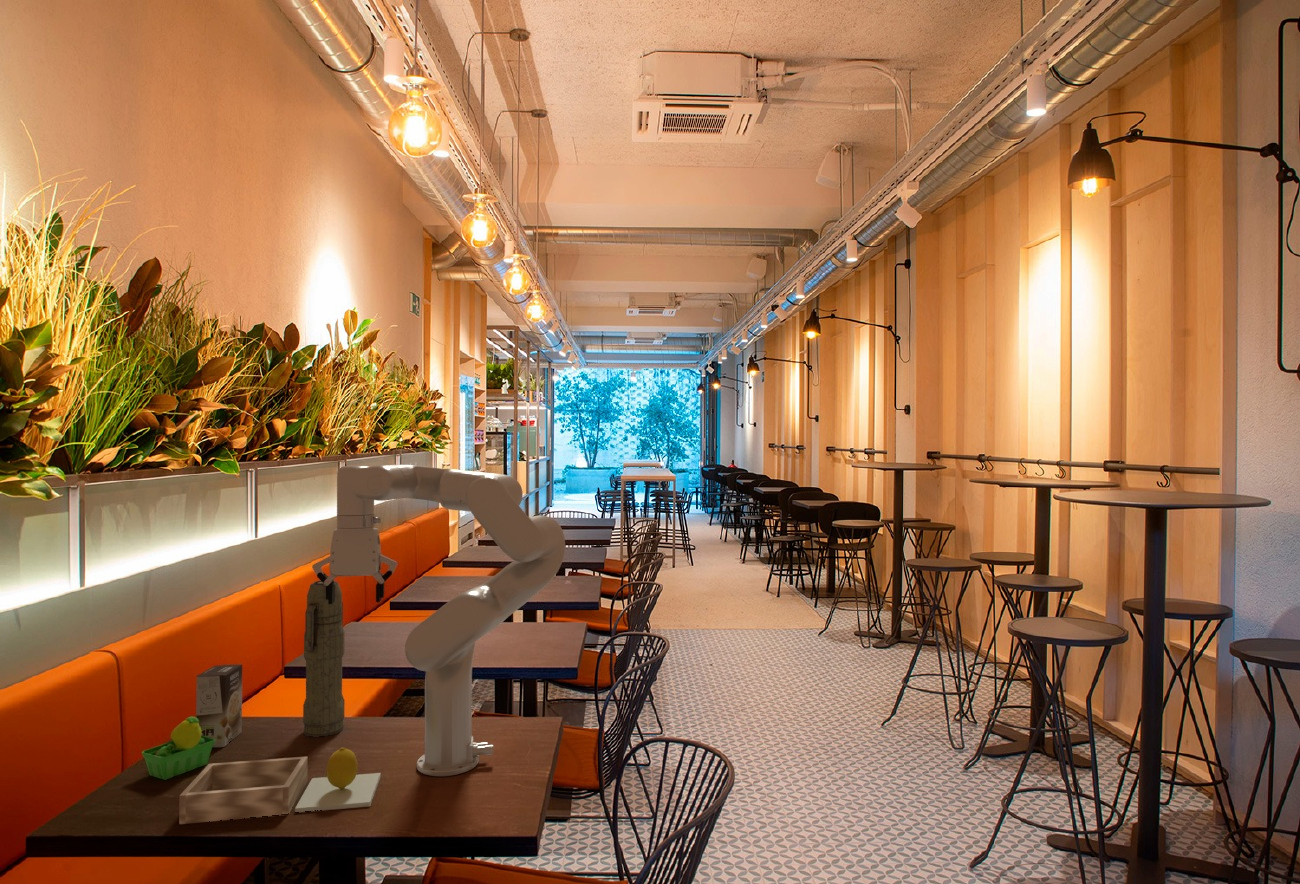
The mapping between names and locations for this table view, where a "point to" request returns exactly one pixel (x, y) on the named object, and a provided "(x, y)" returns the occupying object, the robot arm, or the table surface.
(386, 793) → the table surface
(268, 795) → the brown wooden tray
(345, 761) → the lemon
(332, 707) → the thermos
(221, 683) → the coffee box
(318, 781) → the board
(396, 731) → the table surface
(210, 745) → the fruit basket
